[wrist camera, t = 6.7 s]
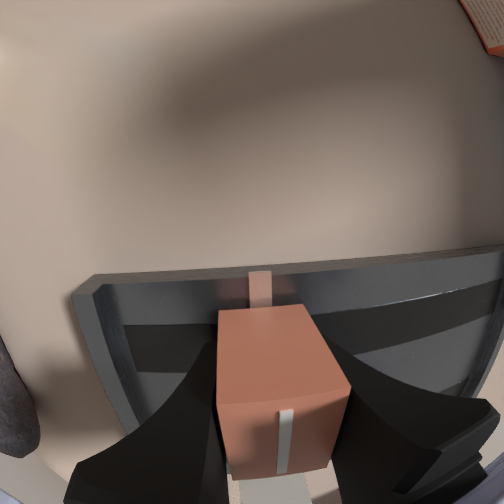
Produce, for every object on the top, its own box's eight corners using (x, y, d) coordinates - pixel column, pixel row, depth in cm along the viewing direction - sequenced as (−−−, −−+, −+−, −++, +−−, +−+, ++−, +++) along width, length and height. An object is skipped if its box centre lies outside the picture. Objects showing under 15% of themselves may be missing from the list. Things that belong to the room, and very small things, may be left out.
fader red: (297, 384, 11) (327, 469, 6) (228, 391, 10) (232, 482, 6) (302, 303, 10) (353, 388, 5) (218, 310, 9) (216, 407, 5)
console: (453, 402, 16) (465, 416, 14) (163, 460, 14) (159, 484, 12) (504, 241, 12) (527, 250, 10) (93, 270, 10) (69, 289, 8)
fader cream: (289, 467, 13) (303, 525, 8) (241, 472, 13) (247, 532, 8) (293, 435, 12) (312, 505, 7) (236, 441, 12) (242, 515, 7)
